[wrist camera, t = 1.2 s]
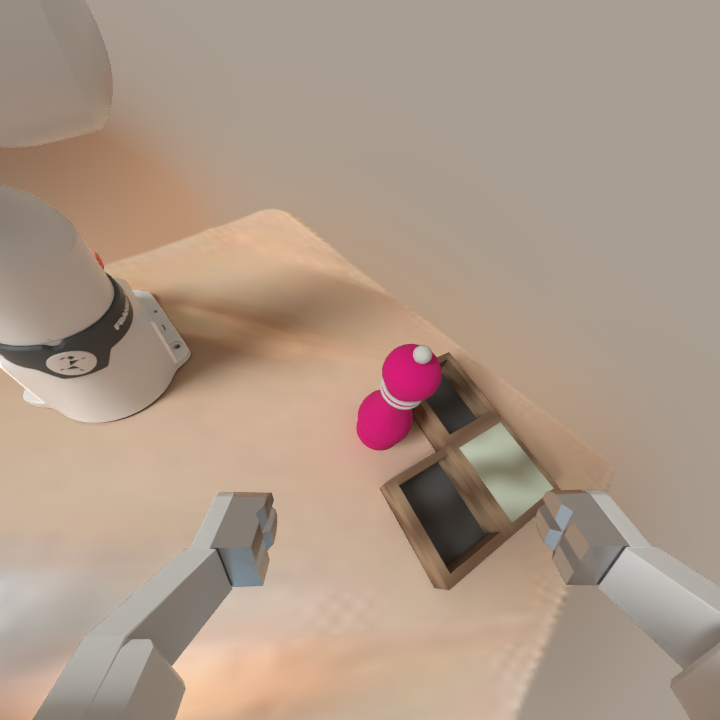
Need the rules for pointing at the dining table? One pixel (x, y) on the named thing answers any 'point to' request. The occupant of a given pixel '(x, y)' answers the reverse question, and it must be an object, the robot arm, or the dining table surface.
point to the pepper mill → (398, 395)
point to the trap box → (464, 481)
